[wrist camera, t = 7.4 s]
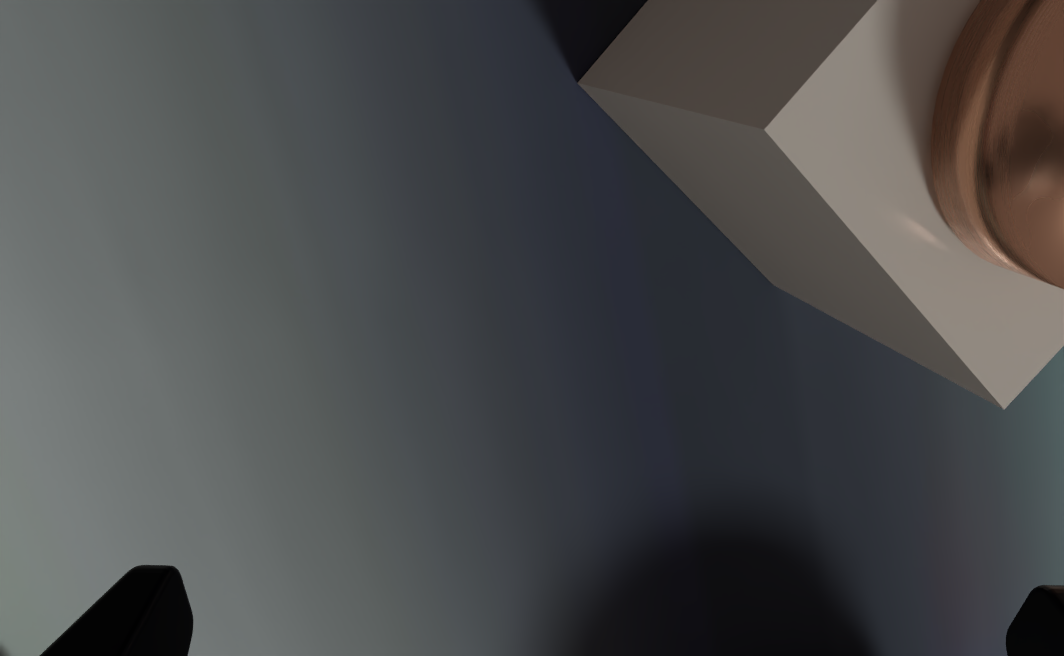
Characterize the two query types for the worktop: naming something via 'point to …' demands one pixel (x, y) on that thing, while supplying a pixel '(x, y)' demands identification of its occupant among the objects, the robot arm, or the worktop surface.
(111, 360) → the worktop surface
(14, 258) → the worktop surface
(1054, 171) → the plunger
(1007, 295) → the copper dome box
